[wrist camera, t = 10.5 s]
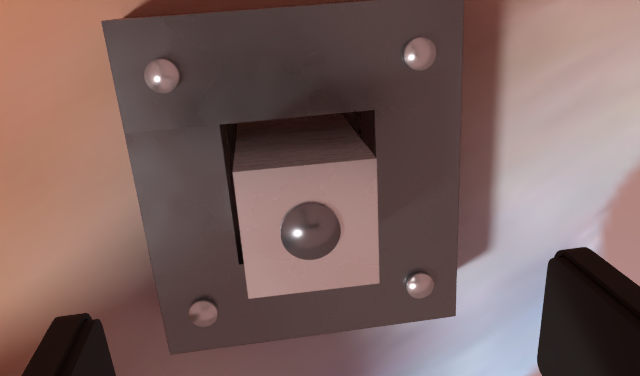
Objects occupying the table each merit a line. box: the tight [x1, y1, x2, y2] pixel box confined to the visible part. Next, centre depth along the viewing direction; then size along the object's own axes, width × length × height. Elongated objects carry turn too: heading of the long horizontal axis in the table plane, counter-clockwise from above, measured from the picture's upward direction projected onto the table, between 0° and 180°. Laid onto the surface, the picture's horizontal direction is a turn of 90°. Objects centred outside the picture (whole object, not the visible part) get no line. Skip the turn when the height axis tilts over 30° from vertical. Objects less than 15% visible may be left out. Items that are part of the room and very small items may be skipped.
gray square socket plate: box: [101, 0, 464, 355], centre depth 22 cm, size 14×13×3 cm
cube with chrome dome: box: [233, 114, 379, 299], centre depth 20 cm, size 5×5×7 cm
